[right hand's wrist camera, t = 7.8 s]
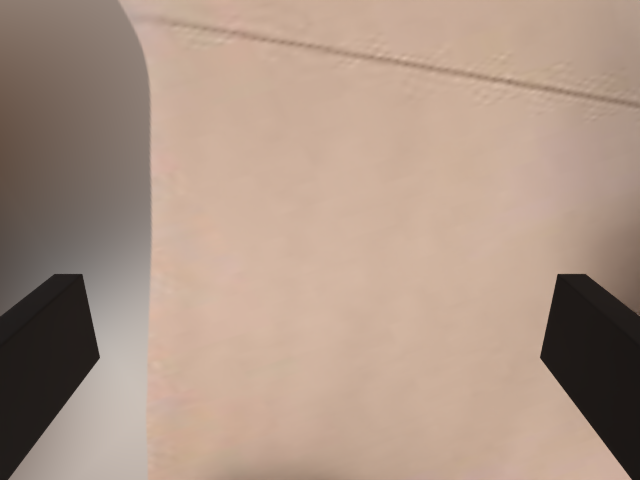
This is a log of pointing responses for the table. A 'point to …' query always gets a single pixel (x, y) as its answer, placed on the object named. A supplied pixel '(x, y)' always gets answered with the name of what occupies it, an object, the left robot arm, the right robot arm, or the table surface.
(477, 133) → the table surface
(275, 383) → the table surface
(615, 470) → the table surface
